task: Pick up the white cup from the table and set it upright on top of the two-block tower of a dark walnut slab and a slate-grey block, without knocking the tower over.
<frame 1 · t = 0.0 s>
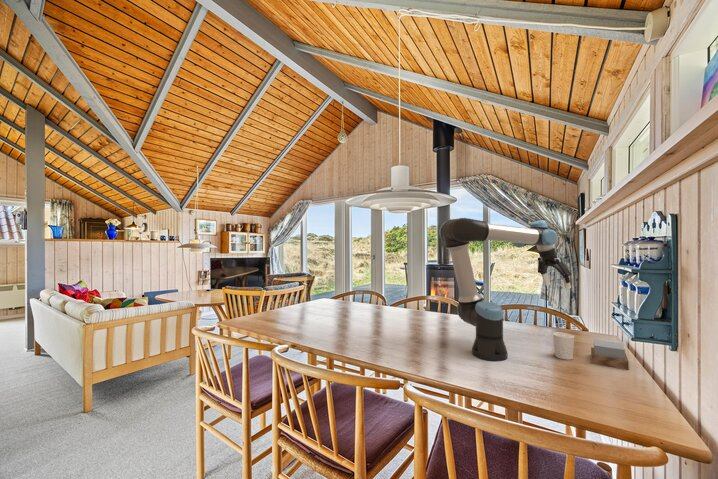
hand: (558, 286, 166), 28 cm above the table, tool tilted 20°, fingers open, 13 cm apart
slate top block: (608, 353, 135), point 4 cm above the table, touching walnut base block
walnut base block: (608, 363, 135), on the table, touching slate top block
white cup: (563, 357, 141), on the table
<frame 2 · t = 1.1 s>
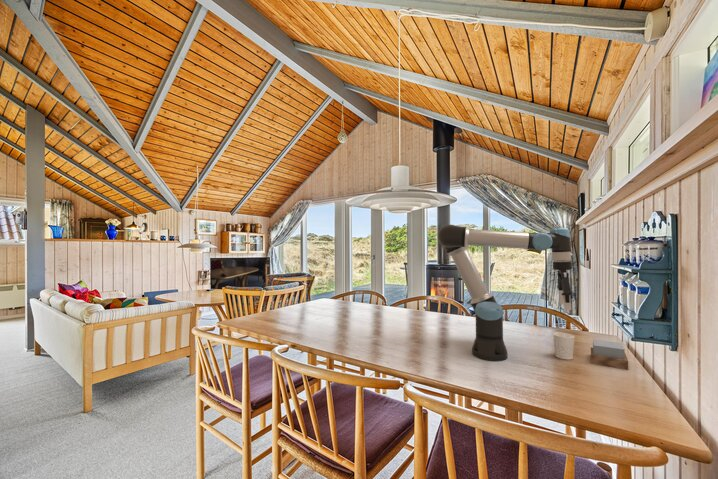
hand: (565, 306, 145), 22 cm above the table, tool pointing down, fingers open, 13 cm apart
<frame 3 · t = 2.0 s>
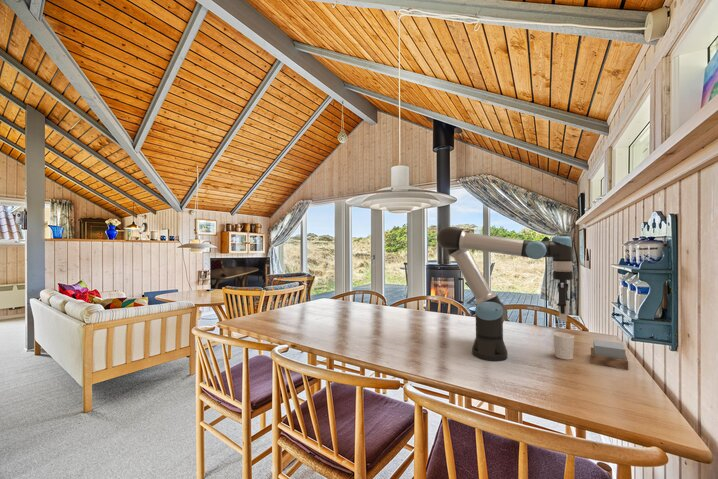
hand: (563, 317, 141), 18 cm above the table, tool pointing down, fingers open, 13 cm apart
slate top block: (608, 353, 135), point 3 cm above the table
walnut base block: (608, 363, 135), on the table
everything else where it was.
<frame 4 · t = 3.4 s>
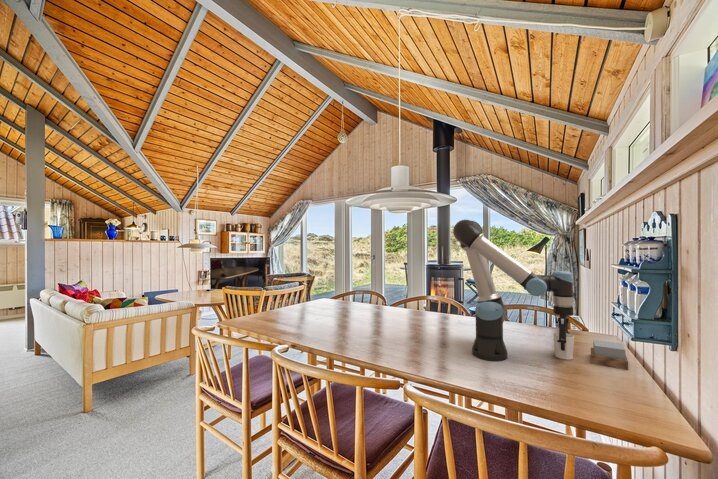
hand: (564, 352, 141), 2 cm above the table, tool pointing down, fingers open, 13 cm apart
nothing on the table moved.
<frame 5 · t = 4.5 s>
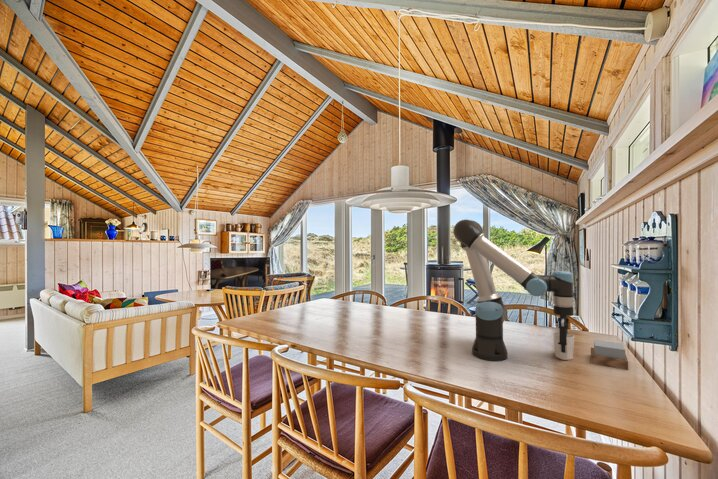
hand: (564, 356, 141), 0 cm above the table, tool pointing down, fingers closed on white cup, 8 cm apart
white cup: (563, 357, 141), on the table, touching gripper
everything else where it was.
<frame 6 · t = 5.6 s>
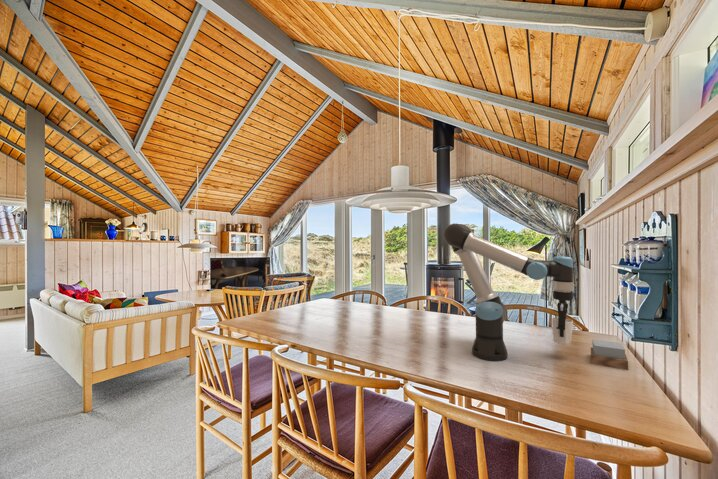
hand: (562, 341, 141), 7 cm above the table, tool pointing down, fingers closed on white cup, 8 cm apart
white cup: (562, 342, 141), point 6 cm above the table, touching gripper
when the fingers open (10 cm above the table, at t = 10.9 s): white cup drops 2 cm, point 7 cm above the table.
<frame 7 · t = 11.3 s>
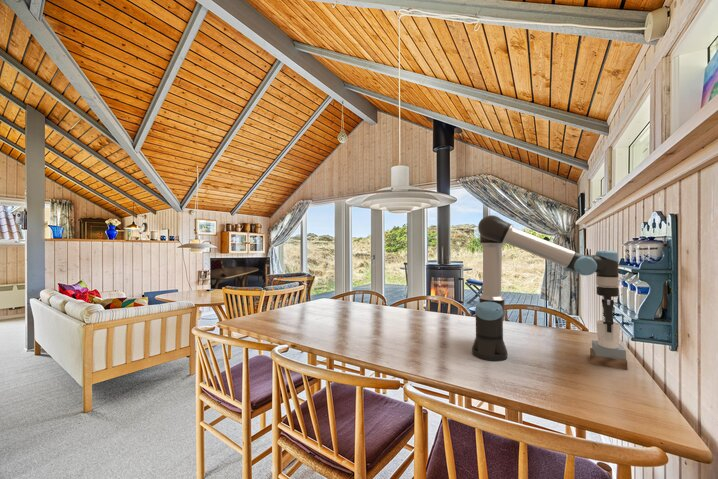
hand: (608, 335, 135), 11 cm above the table, tool pointing down, fingers open, 13 cm apart
slate top block: (608, 354, 135), point 3 cm above the table, touching walnut base block
walnut base block: (607, 363, 135), on the table, touching slate top block
white cup: (608, 346, 133), point 7 cm above the table
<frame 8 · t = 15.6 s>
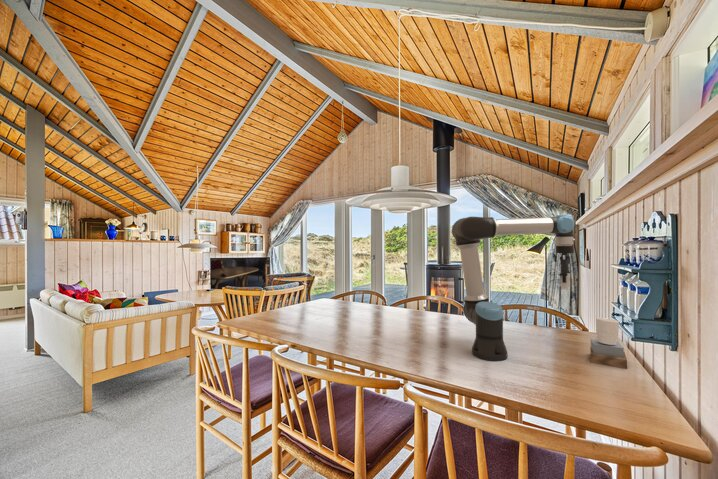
hand: (565, 287, 158), 29 cm above the table, tool pointing down, fingers open, 13 cm apart
slate top block: (606, 352, 137), point 4 cm above the table, touching white cup, walnut base block
walnut base block: (607, 362, 136), on the table, touching slate top block
white cup: (606, 343, 136), point 8 cm above the table, touching slate top block
at the end: white cup 1.0 cm off-centre on the slate top block, point 4.1 cm above the slate top block's base; white cup tilted 5°; slate top block 0.9 cm off-centre on the walnut base block, point 4.0 cm above the walnut base block's base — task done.
